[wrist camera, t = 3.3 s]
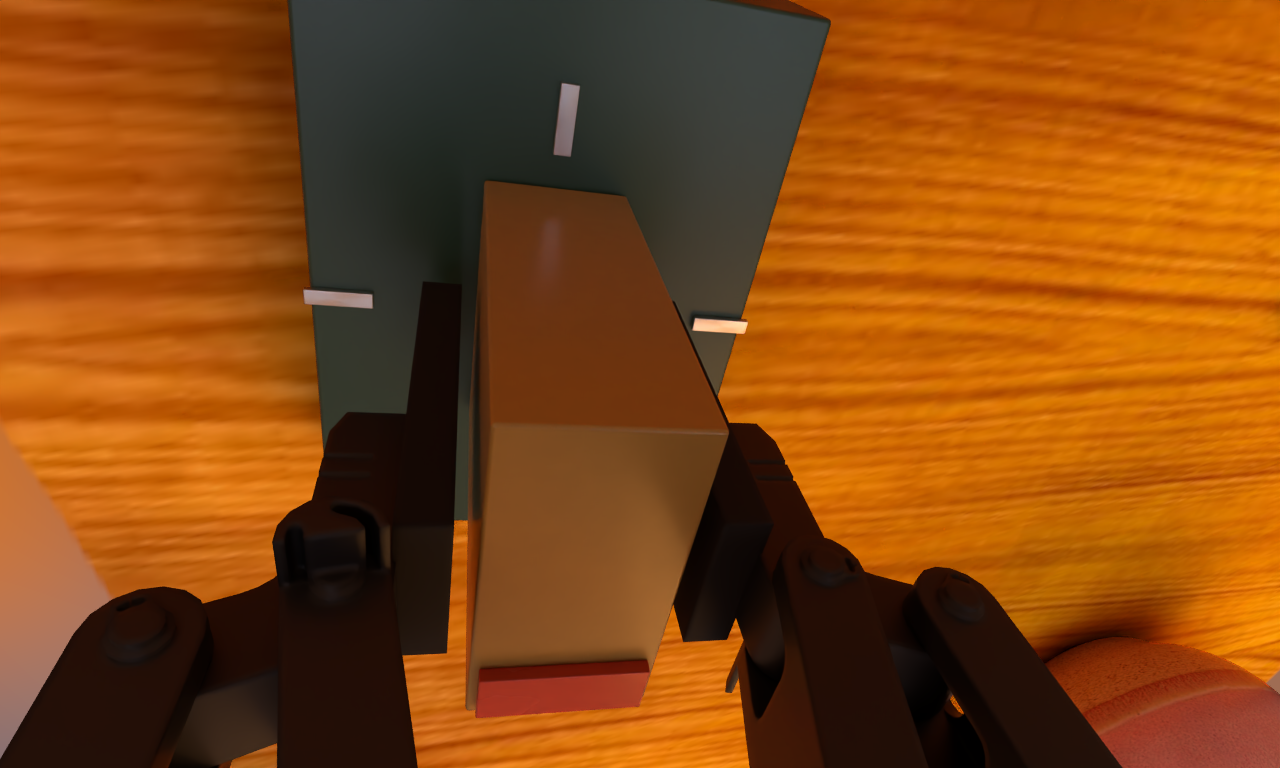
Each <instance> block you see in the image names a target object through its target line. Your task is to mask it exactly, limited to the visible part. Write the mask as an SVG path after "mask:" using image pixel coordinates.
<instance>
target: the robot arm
mask: <svg viewBox="0 0 1280 768" xmlns="http://www.w3.org/2000/svg"><path fill="white" fill-rule="evenodd" d="M461 301H462V284H451V283H438V282H425V281H423V284H422V292H421V300H420V308H419V315H418V323H417V331H416V339H415V347H414V355H413V363H412V371H411V379H410V387H409V395H408V403H407V411H406V414H400V413H370V412H347V413H346V414H345V415H344V416H343V417H342V418H341V419H340V421H339V422H338V423H337V424H336V425H335V426H334V427H333V428H332V429H331V430H330V431H329V435H328V439H327V442H326V446H325V450H324V457H323V458H322V462H321V466H320V470H319V477H318V478H317V482H316V486H315V489H314V493H313V497H312V500H311V501H308V502H306V503H304V504H303V505H301V506H299V507H297V508H295V509H294V510H292V511H290V512H289V513H288V514H287V515H286V517H285V518H284V519H283V520H282V521H281V522H280V523H279V524H278V525H277V528H276V531H275V534H274V538H273V541H272V543H273V550H274V557H275V564H276V571H277V576H276V577H275V578H274V579H272V580H270V581H268V582H266V583H265V584H263V585H261V586H259V587H257V588H254V589H251V590H249V591H246V592H243V593H240V594H237V595H233V596H229V597H225V598H222V599H218V600H214V601H211V602H207V603H203V604H202V602H201V600H200V599H198V598H197V597H195V596H194V595H192V594H190V593H189V592H187V591H186V590H181V589H175V588H170V587H156V588H147V589H139V590H136V591H133V592H131V593H128V594H125V595H123V596H120V597H117V598H115V599H112V600H111V601H109V602H108V603H107V604H105V605H103V606H102V607H101V608H99V609H97V610H96V611H94V612H93V613H91V614H90V615H89V616H88V617H87V619H86V620H85V621H84V622H83V623H82V624H81V626H80V627H79V628H78V629H77V630H76V631H75V633H74V634H73V636H72V637H71V639H70V641H69V643H68V644H67V646H66V648H65V649H64V651H63V653H62V655H61V656H60V658H59V660H58V661H57V663H56V665H55V666H54V669H53V670H52V672H51V673H50V675H49V677H48V678H47V680H46V682H45V684H44V685H43V687H42V689H41V690H40V692H39V694H38V696H37V697H36V699H35V701H34V702H33V704H32V706H31V707H30V709H29V711H28V713H27V715H26V716H25V718H24V719H23V721H22V723H21V725H20V726H19V728H18V730H17V731H16V733H15V735H14V737H13V739H12V740H11V742H10V744H9V745H8V747H7V748H6V750H5V752H4V754H3V755H2V757H1V759H0V768H230V765H231V762H232V760H233V759H235V758H238V757H241V756H243V755H246V754H249V753H251V752H254V751H257V750H259V749H262V748H265V747H268V746H270V745H273V744H276V743H277V768H418V766H417V759H416V751H415V744H414V737H413V729H412V722H411V715H410V708H409V700H408V693H407V686H406V678H405V671H404V664H403V656H402V655H421V654H442V653H447V639H448V622H449V605H450V587H451V570H452V552H453V535H454V512H455V482H456V452H457V422H458V391H459V361H460V331H461ZM672 302H673V305H674V307H675V309H676V312H677V314H678V316H679V318H680V321H681V323H682V325H683V327H684V330H685V332H686V334H687V337H688V339H689V341H690V343H691V346H692V348H693V350H694V352H695V355H696V357H697V359H698V362H699V364H700V366H701V368H702V371H703V373H704V375H705V377H706V380H707V382H708V384H709V387H710V389H711V391H712V393H713V396H714V398H715V400H716V402H717V405H718V407H719V409H720V412H721V414H722V416H723V418H724V421H725V423H726V425H727V427H728V430H729V435H728V438H727V441H726V444H725V447H724V450H723V453H722V456H721V460H720V463H719V466H718V469H717V472H716V475H715V478H714V481H713V484H712V487H711V490H710V493H709V496H708V499H707V502H706V505H705V508H704V511H703V514H702V518H701V521H700V524H699V527H698V530H697V533H696V536H695V539H694V542H693V545H692V548H691V551H690V554H689V557H688V560H687V563H686V566H685V569H684V573H683V576H682V579H681V582H680V585H679V588H678V591H677V594H676V597H675V600H674V603H673V605H674V608H675V612H676V616H677V620H678V624H679V627H680V631H681V635H682V639H683V642H691V641H712V640H727V638H728V636H729V633H730V631H731V628H732V626H733V623H734V621H735V618H736V619H737V622H738V625H739V628H740V631H741V634H742V636H743V639H744V641H743V643H742V645H741V648H740V650H739V652H738V655H737V657H736V659H735V662H734V664H733V666H732V669H731V671H730V673H729V675H728V678H727V681H726V690H725V692H727V693H732V692H733V689H734V687H735V685H736V683H737V680H738V678H739V683H740V692H741V700H742V708H743V716H744V725H745V733H746V741H747V749H748V757H749V766H750V768H1122V766H1121V765H1120V764H1119V762H1118V761H1117V760H1116V758H1115V757H1114V756H1113V754H1112V753H1111V752H1110V750H1109V749H1108V748H1107V746H1106V745H1105V744H1104V742H1103V741H1102V740H1101V738H1100V737H1099V736H1098V734H1097V733H1096V732H1095V730H1094V729H1093V728H1092V726H1091V725H1090V724H1089V722H1088V721H1087V720H1086V718H1085V717H1084V716H1083V714H1082V713H1081V712H1080V710H1079V709H1078V708H1077V706H1076V705H1075V704H1074V702H1073V701H1072V700H1071V698H1070V697H1069V696H1068V695H1067V693H1066V692H1065V691H1064V689H1063V688H1062V687H1061V685H1060V684H1059V683H1058V681H1057V680H1056V679H1055V677H1054V676H1053V675H1052V673H1051V672H1050V671H1049V669H1048V668H1047V667H1046V665H1045V664H1044V663H1043V661H1042V660H1041V659H1040V657H1039V656H1038V655H1037V653H1036V652H1035V651H1034V649H1033V648H1032V647H1031V645H1030V644H1029V643H1028V641H1027V640H1026V639H1025V637H1024V636H1023V635H1022V633H1021V632H1020V631H1019V629H1018V628H1017V627H1016V625H1015V624H1014V623H1013V621H1012V620H1011V619H1010V617H1009V616H1008V615H1007V613H1006V612H1005V611H1004V609H1003V608H1002V607H1001V605H1000V604H999V603H998V601H997V600H996V599H995V598H994V597H993V596H992V594H991V593H990V592H989V591H988V590H987V589H986V588H985V587H984V586H983V585H982V584H980V583H979V582H977V581H976V580H974V579H973V578H971V577H970V576H968V575H966V574H964V573H961V572H959V571H956V570H953V569H951V568H942V567H933V568H930V569H927V570H924V571H923V572H922V573H921V574H920V576H919V577H918V578H917V580H916V581H915V583H914V585H911V584H907V583H903V582H899V581H896V580H892V579H888V578H884V577H880V576H876V575H873V574H870V573H867V572H864V570H863V568H862V566H861V564H860V562H859V561H858V559H857V558H856V557H855V556H854V555H853V554H852V553H851V552H850V551H849V550H847V549H846V548H845V547H843V546H841V545H840V544H838V543H836V542H834V541H833V540H831V539H827V538H824V536H823V534H822V532H821V530H820V528H819V526H818V524H817V522H816V520H815V518H814V517H813V515H812V513H811V511H810V509H809V507H808V505H807V503H806V501H805V499H804V497H803V495H802V493H801V491H800V489H799V487H798V485H797V483H796V481H793V475H792V473H791V471H790V470H789V468H788V466H787V465H785V460H784V458H783V456H782V454H781V452H780V450H779V448H778V446H777V444H776V442H775V441H774V440H773V439H772V438H771V437H770V436H769V435H768V434H767V433H766V432H765V431H764V430H762V429H761V428H760V427H759V426H758V425H757V424H750V423H729V422H728V420H727V417H726V415H725V413H724V411H723V408H722V406H721V404H720V402H719V399H718V397H717V395H716V393H715V390H714V388H713V386H712V384H711V381H710V379H709V377H708V375H707V372H706V370H705V368H704V366H703V363H702V361H701V359H700V357H699V355H698V352H697V350H696V348H695V346H694V343H693V341H692V339H691V337H690V334H689V332H688V330H687V328H686V325H685V323H684V321H683V319H682V316H681V314H680V312H679V310H678V307H677V305H676V303H675V301H672ZM952 695H953V696H954V697H955V699H956V700H957V702H958V704H959V705H960V707H961V709H962V710H963V712H964V715H963V714H961V713H960V712H958V710H957V709H956V708H955V707H954V705H953V704H952V702H951V701H950V698H951V697H952Z"/></svg>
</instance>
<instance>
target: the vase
mask: <svg viewBox="0 0 1280 768" xmlns="http://www.w3.org/2000/svg"><path fill="white" fill-rule="evenodd" d="M1045 665H1046V667H1047V668H1048V669H1049V671H1050V672H1051V673H1052V675H1053V676H1054V677H1055V679H1056V680H1057V681H1058V683H1059V684H1060V685H1061V687H1062V688H1063V689H1064V691H1065V692H1066V693H1067V695H1068V696H1069V697H1070V698H1071V700H1072V701H1073V702H1074V704H1075V705H1076V706H1077V708H1078V709H1079V710H1080V712H1081V713H1082V714H1083V716H1084V717H1085V718H1086V720H1087V721H1088V722H1089V724H1090V725H1091V726H1092V728H1093V729H1094V730H1095V732H1096V733H1097V734H1098V736H1099V737H1100V738H1101V740H1102V741H1103V742H1104V744H1105V745H1106V746H1107V748H1108V749H1109V750H1110V752H1111V753H1112V754H1113V756H1114V757H1115V758H1116V760H1117V761H1118V762H1119V764H1120V765H1121V766H1122V768H1280V694H1279V693H1278V692H1276V691H1275V690H1274V689H1273V688H1271V687H1270V686H1269V685H1267V684H1266V683H1265V682H1264V681H1262V680H1261V679H1259V678H1258V677H1256V676H1255V675H1253V674H1251V673H1250V672H1248V671H1247V670H1245V669H1243V668H1242V667H1240V666H1238V665H1236V664H1234V663H1232V662H1230V661H1228V660H1226V659H1224V658H1221V657H1218V656H1216V655H1213V654H1211V653H1208V652H1204V651H1201V650H1198V649H1194V648H1191V647H1187V646H1182V645H1177V644H1169V643H1157V642H1149V641H1145V640H1141V639H1137V638H1131V637H1108V638H1102V639H1098V640H1094V641H1090V642H1087V643H1084V644H1081V645H1078V646H1076V647H1074V648H1071V649H1069V650H1067V651H1065V652H1063V653H1061V654H1059V655H1058V656H1056V657H1054V658H1052V659H1051V660H1049V661H1048V662H1046V663H1045Z"/></svg>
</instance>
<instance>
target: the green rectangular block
mask: <svg viewBox="0 0 1280 768" xmlns="http://www.w3.org/2000/svg"><path fill="white" fill-rule="evenodd" d="M287 1H288V13H289V26H290V38H291V51H292V64H293V76H294V89H295V101H296V114H297V126H298V139H299V151H300V164H301V176H302V189H303V201H304V214H305V226H306V239H307V251H308V264H309V276H310V287H306V286H305V287H304V289H303V295H304V304H311V305H312V314H313V326H314V339H315V351H316V364H317V376H318V389H319V401H320V414H321V426H322V439H323V451H324V450H325V446H326V442H327V439H328V435H329V431H330V430H331V429H332V428H333V427H334V426H335V425H336V424H337V423H338V422H339V421H340V419H341V418H342V417H343V416H344V415H345V414H346V413H347V412H370V413H400V414H406V411H407V403H408V395H409V387H410V379H411V371H412V363H413V355H414V347H415V339H416V331H417V323H418V315H419V308H420V300H421V292H422V284H423V281H425V282H438V283H451V284H462V301H461V331H460V361H459V391H458V422H457V452H456V482H455V512H454V520H468V469H469V407H470V391H471V376H472V361H473V346H474V331H475V315H476V300H477V285H478V270H479V255H480V239H481V224H482V209H483V194H484V183H485V181H496V182H505V183H514V184H522V185H531V186H540V187H548V188H557V189H566V190H574V191H583V192H592V193H600V194H609V195H618V196H625V197H626V198H627V200H628V202H629V205H630V207H631V209H632V212H633V214H634V216H635V218H636V221H637V223H638V225H639V227H640V230H641V232H642V234H643V237H644V239H645V241H646V243H647V246H648V248H649V250H650V252H651V255H652V257H653V259H654V262H655V264H656V266H657V268H658V271H659V273H660V275H661V277H662V280H663V282H664V284H665V287H666V289H667V291H668V293H669V296H670V298H671V300H672V301H675V303H676V305H677V307H678V310H679V312H680V314H681V316H682V319H683V321H684V323H685V325H686V328H687V330H688V332H689V334H690V337H691V339H692V341H693V343H694V346H695V348H696V350H697V352H698V355H699V357H700V359H701V361H702V363H703V366H704V368H705V370H706V372H707V375H708V377H709V379H710V381H711V384H712V386H713V388H714V390H715V393H716V395H717V396H718V393H719V390H720V386H721V383H722V380H723V377H724V373H725V370H726V367H727V363H728V360H729V357H730V354H731V350H732V347H733V344H734V340H735V337H736V334H745V330H746V327H747V324H748V321H747V319H741V317H742V314H743V311H744V308H745V304H746V301H747V298H748V294H749V291H750V288H751V285H752V281H753V278H754V275H755V271H756V268H757V265H758V262H759V258H760V255H761V252H762V248H763V245H764V242H765V239H766V235H767V232H768V229H769V225H770V222H771V219H772V216H773V212H774V209H775V206H776V202H777V199H778V196H779V193H780V189H781V186H782V183H783V179H784V176H785V173H786V170H787V166H788V163H789V160H790V156H791V153H792V150H793V147H794V143H795V140H796V137H797V133H798V130H799V127H800V124H801V120H802V117H803V114H804V111H805V107H806V104H807V101H808V97H809V94H810V91H811V88H812V84H813V81H814V78H815V74H816V71H817V68H818V65H819V61H820V58H821V55H822V51H823V48H824V45H825V42H826V38H827V35H828V32H829V28H830V25H831V21H830V20H829V19H828V18H826V17H823V16H821V15H819V14H817V13H815V12H813V11H810V10H808V9H806V8H804V7H802V6H800V5H797V4H795V3H793V2H791V1H789V0H287Z"/></svg>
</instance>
